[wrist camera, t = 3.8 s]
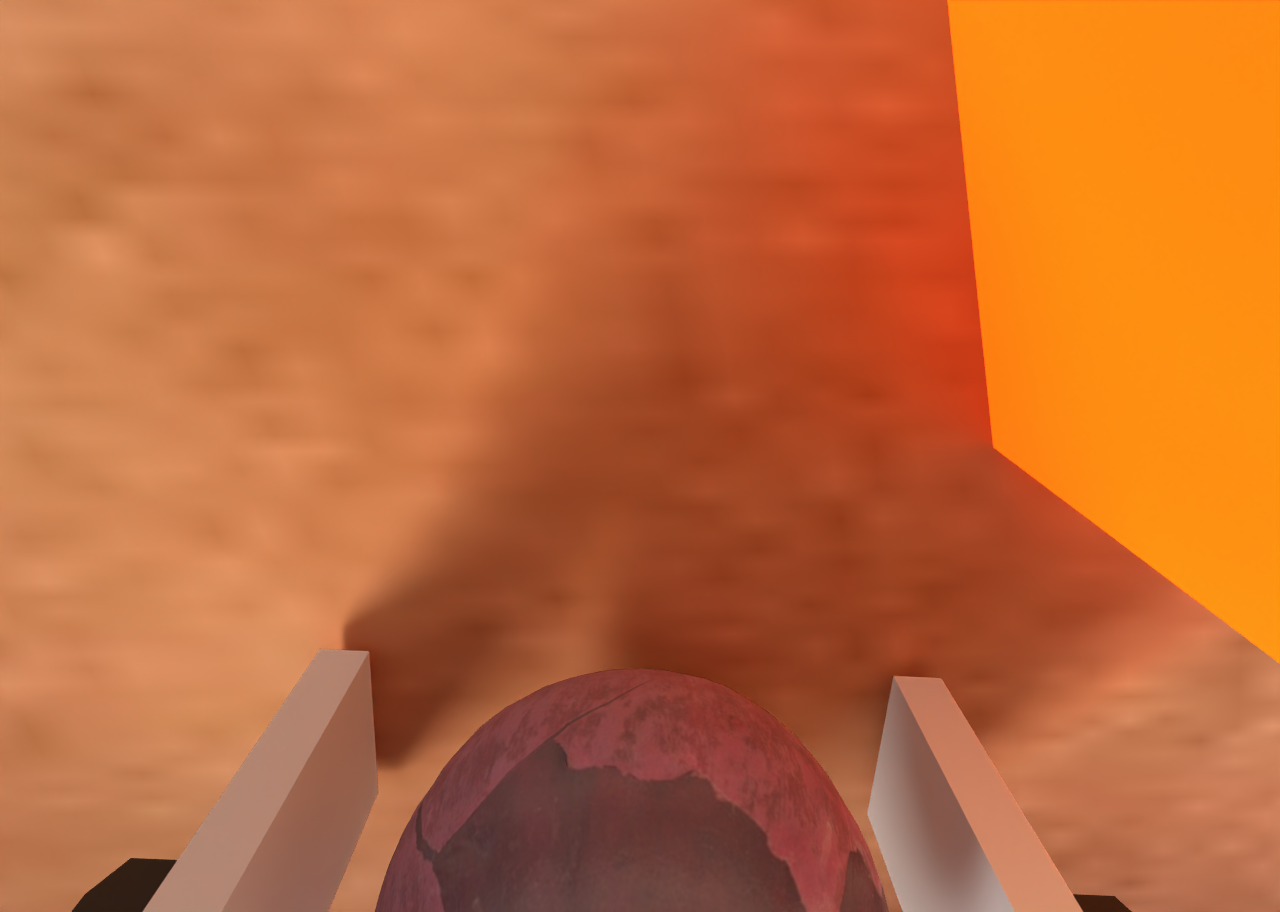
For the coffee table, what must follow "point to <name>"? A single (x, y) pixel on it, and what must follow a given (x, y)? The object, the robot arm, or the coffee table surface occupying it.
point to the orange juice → (1135, 273)
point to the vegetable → (632, 810)
